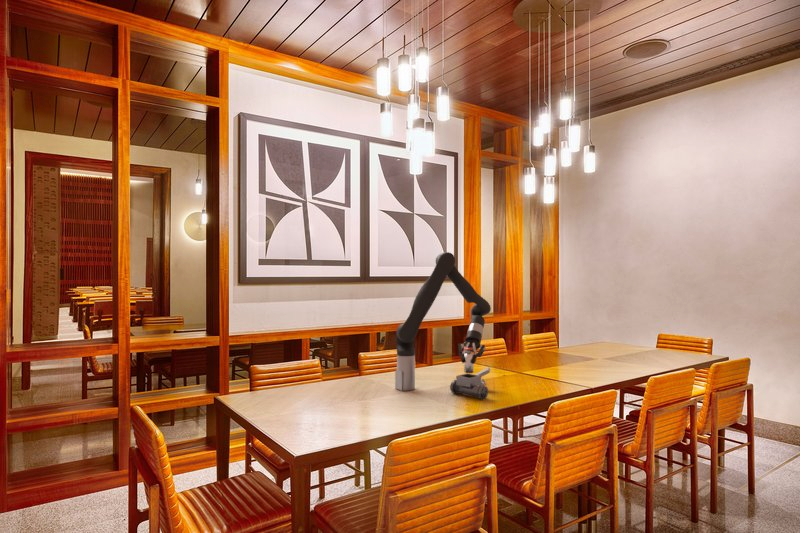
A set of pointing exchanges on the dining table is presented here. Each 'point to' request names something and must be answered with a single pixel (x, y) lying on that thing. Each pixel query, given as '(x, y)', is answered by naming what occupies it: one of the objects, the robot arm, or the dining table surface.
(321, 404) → the dining table surface
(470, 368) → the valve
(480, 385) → the door handle
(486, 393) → the grey toy rover
